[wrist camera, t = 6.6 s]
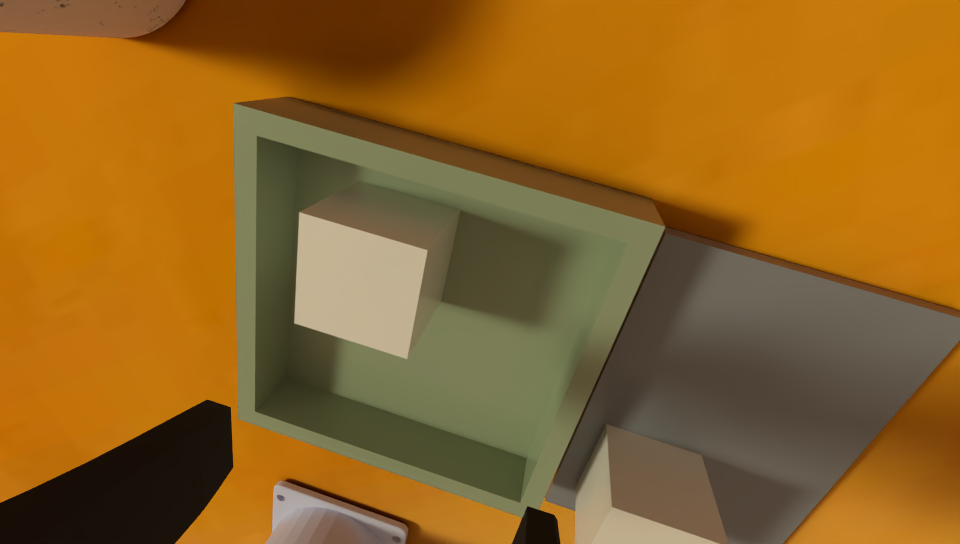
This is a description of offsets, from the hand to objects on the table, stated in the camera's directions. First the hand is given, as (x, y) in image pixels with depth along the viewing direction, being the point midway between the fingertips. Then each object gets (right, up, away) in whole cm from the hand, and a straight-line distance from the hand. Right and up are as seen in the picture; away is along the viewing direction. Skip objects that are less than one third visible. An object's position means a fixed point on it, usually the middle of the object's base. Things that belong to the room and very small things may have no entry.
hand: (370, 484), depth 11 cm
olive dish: (0, +4, +9) cm, 9 cm away
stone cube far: (+9, -4, +9) cm, 14 cm away
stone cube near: (-1, +6, +7) cm, 9 cm away
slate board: (+12, -1, +8) cm, 15 cm away
